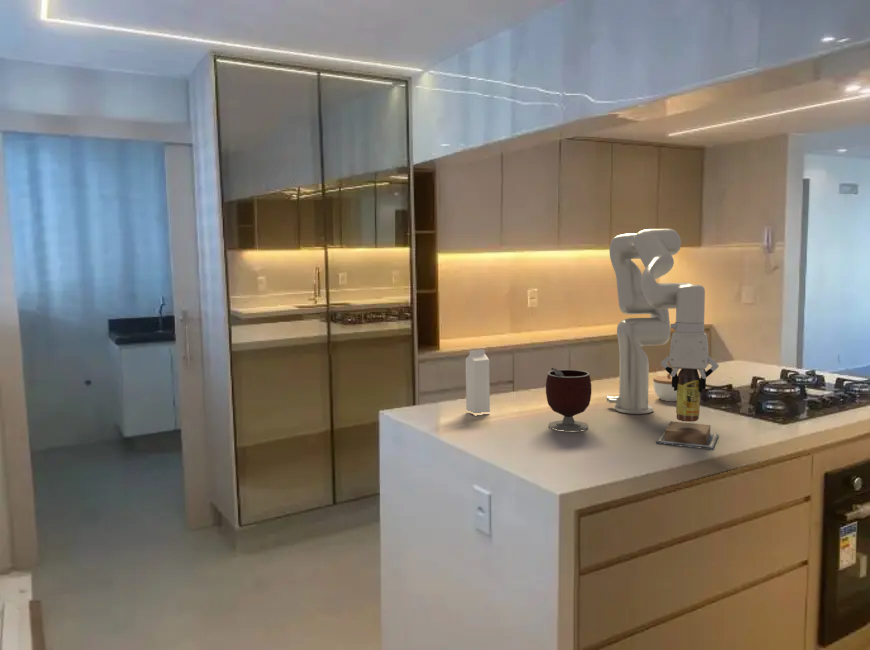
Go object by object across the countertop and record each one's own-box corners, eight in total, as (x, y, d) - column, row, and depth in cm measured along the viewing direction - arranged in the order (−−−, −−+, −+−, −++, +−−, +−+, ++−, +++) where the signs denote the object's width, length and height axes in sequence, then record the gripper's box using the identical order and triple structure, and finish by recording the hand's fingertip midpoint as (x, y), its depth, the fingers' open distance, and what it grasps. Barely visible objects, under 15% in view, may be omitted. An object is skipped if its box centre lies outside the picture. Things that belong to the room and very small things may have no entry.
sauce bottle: (688, 423, 191) (689, 353, 189) (671, 419, 196) (671, 351, 194) (704, 420, 194) (705, 351, 192) (687, 416, 199) (688, 349, 197)
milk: (466, 413, 234) (464, 349, 231) (481, 410, 236) (480, 348, 234) (475, 416, 228) (473, 351, 226) (490, 414, 231) (489, 350, 229)
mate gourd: (562, 419, 222) (562, 358, 220) (599, 426, 212) (600, 363, 210) (533, 428, 211) (533, 365, 209) (571, 436, 201) (571, 370, 199)
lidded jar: (687, 398, 250) (687, 372, 249) (680, 403, 241) (680, 377, 240) (657, 395, 255) (657, 370, 254) (649, 400, 246) (649, 375, 245)
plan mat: (655, 443, 193) (656, 431, 192) (664, 430, 206) (665, 419, 205) (712, 449, 186) (713, 436, 185) (718, 436, 199) (718, 424, 198)
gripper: (655, 328, 193) (654, 391, 195) (721, 331, 185) (719, 395, 187) (660, 326, 200) (659, 386, 201) (724, 328, 192) (722, 390, 193)
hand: (688, 390), depth 194 cm, fingers closed on sauce bottle, 6 cm apart
